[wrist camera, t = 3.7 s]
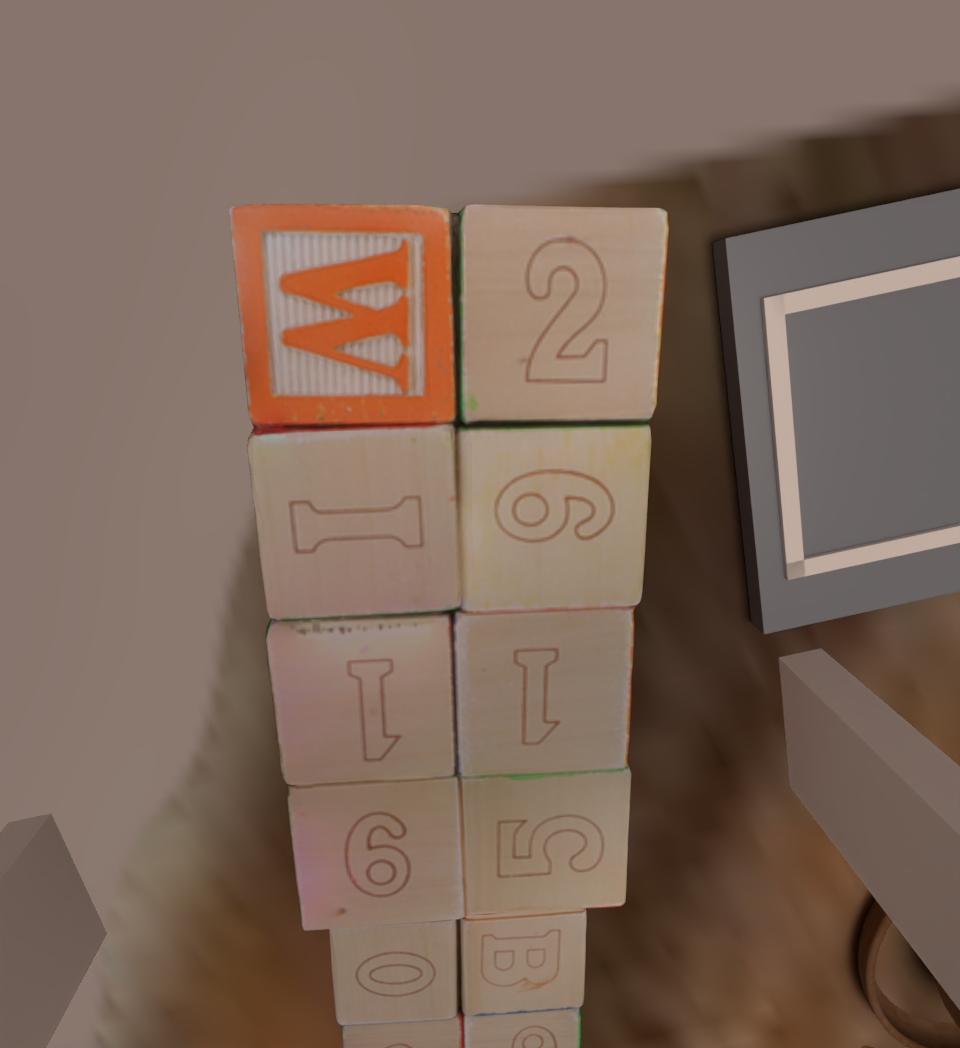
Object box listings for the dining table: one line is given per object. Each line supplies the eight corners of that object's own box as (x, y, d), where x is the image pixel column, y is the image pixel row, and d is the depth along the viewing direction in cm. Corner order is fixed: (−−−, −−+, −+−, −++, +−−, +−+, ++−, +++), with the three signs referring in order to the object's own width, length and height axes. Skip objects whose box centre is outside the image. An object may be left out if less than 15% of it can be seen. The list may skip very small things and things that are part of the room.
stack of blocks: (530, 850, 27) (608, 1250, 15) (369, 858, 27) (321, 1276, 15) (543, 270, 21) (681, 197, 10) (338, 269, 21) (219, 191, 9)
